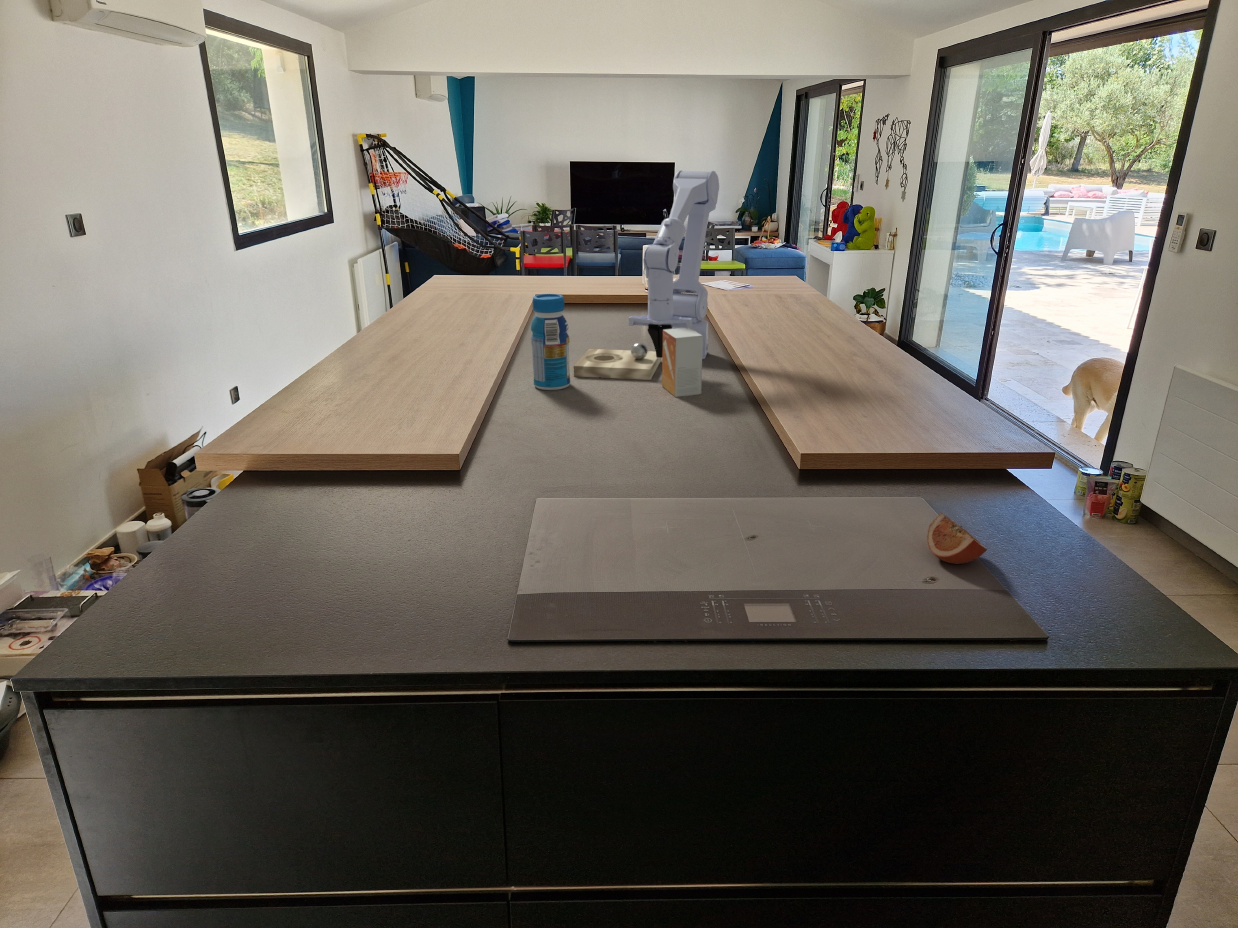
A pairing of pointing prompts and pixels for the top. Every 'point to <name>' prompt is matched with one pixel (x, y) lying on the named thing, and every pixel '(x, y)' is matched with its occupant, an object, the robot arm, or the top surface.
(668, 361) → the small box
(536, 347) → the beverage bottle
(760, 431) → the top surface
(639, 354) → the steel ball
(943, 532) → the fruit slice
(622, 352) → the hole plate
